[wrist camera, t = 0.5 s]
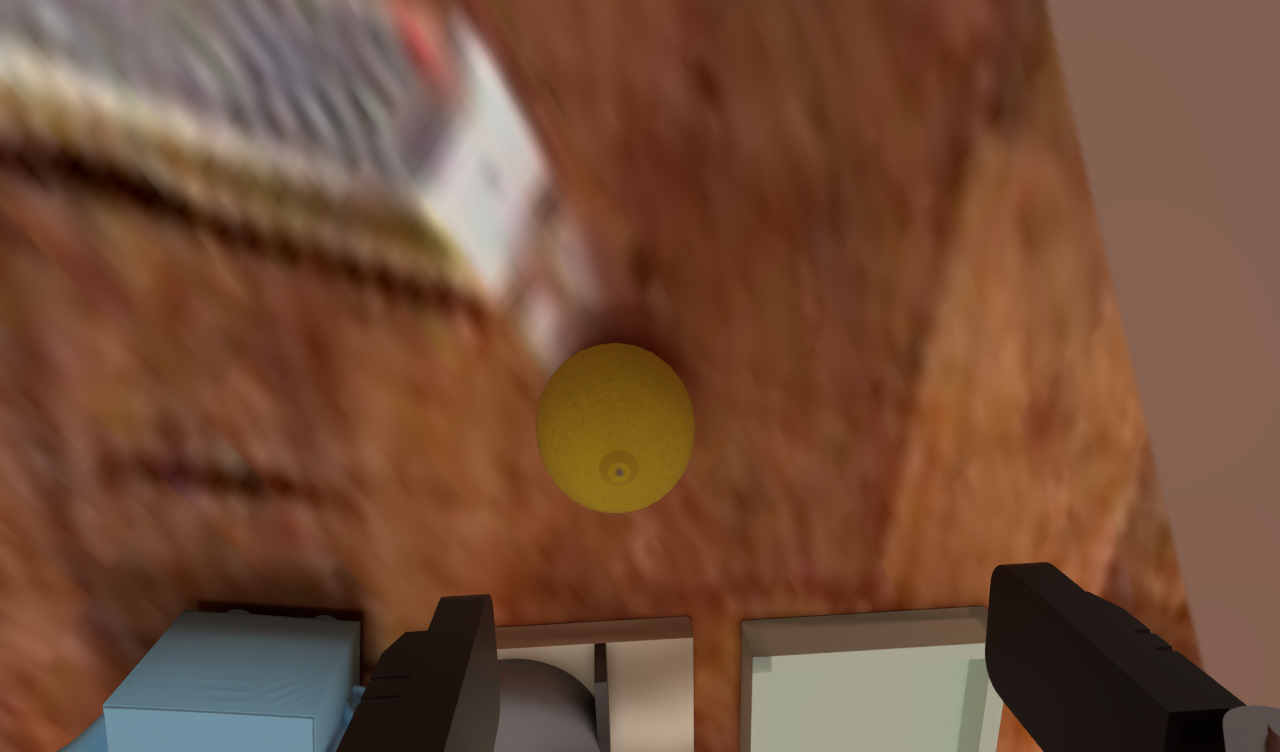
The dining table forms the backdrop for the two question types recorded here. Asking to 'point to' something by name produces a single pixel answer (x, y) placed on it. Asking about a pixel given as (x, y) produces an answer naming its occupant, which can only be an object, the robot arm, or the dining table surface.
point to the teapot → (235, 687)
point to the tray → (868, 683)
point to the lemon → (615, 428)
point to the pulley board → (596, 686)
